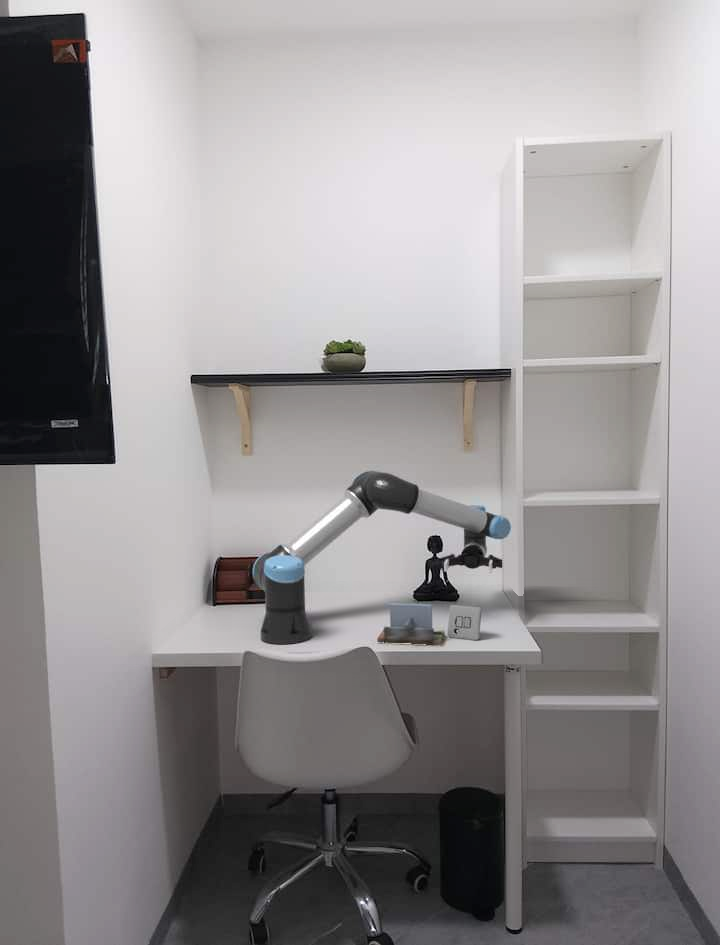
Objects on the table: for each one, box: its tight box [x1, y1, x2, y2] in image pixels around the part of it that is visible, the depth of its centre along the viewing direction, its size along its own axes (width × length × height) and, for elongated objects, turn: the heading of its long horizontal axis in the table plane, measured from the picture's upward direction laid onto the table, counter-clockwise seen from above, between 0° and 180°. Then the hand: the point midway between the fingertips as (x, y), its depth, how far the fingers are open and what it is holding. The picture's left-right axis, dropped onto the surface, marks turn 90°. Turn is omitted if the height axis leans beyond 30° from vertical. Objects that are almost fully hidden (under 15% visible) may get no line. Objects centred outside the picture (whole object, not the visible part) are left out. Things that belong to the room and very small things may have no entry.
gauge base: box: [376, 626, 446, 646], centre depth 207 cm, size 18×10×4 cm, turn 77°
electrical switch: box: [447, 604, 482, 641], centre depth 209 cm, size 9×5×9 cm, turn 63°
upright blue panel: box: [389, 602, 443, 634], centre depth 203 cm, size 15×8×8 cm, turn 77°
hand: (467, 567), depth 219 cm, fingers open, 13 cm apart
